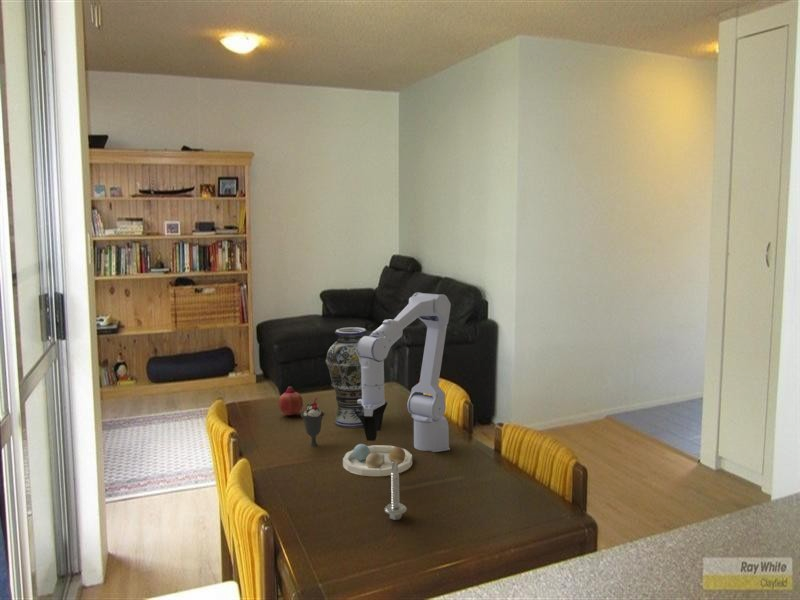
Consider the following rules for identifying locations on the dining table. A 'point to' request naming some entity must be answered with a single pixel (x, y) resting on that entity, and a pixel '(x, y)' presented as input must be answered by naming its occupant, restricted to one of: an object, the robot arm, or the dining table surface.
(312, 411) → the sundae
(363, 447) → the bead blue
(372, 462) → the bead birch
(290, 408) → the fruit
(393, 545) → the dining table surface
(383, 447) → the tray
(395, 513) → the screw
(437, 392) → the robot arm
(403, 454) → the bead oak
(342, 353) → the vase
